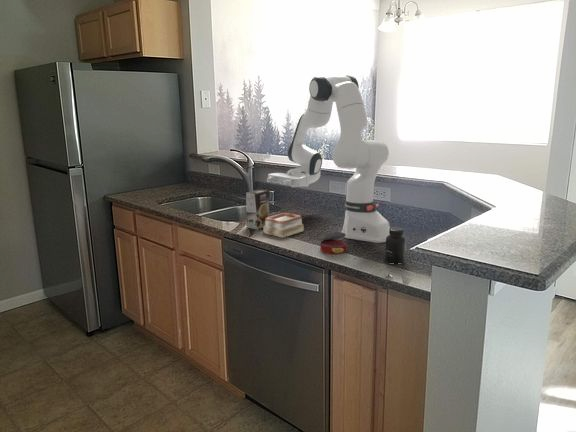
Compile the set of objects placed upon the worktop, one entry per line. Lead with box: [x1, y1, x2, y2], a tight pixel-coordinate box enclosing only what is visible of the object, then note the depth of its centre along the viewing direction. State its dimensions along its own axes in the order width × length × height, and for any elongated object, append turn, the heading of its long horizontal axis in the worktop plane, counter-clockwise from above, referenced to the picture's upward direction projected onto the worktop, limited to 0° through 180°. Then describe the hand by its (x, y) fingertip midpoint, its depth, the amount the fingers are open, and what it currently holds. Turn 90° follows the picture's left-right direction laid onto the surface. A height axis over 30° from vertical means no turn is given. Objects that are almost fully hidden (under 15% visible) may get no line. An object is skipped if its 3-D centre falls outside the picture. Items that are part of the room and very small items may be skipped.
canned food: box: [319, 231, 348, 255], centre depth 172 cm, size 11×10×10 cm
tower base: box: [262, 212, 305, 239], centre depth 197 cm, size 11×14×7 cm
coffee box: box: [245, 189, 270, 230], centre depth 205 cm, size 9×6×16 cm
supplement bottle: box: [384, 226, 407, 264], centre depth 158 cm, size 7×7×12 cm
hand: (275, 181), depth 211 cm, fingers open, 8 cm apart
